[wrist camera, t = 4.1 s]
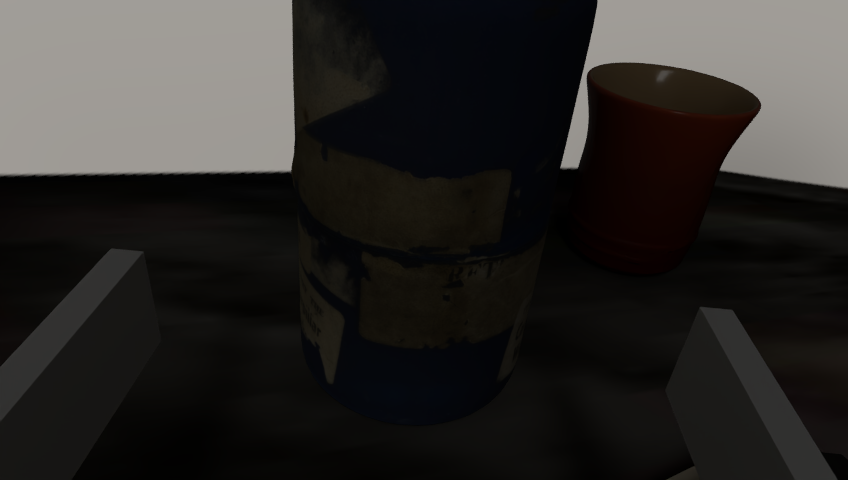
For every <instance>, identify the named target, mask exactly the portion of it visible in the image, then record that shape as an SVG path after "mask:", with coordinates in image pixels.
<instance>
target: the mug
mask: <svg viewBox="0 0 848 480" xmlns="http://www.w3.org/2000/svg"><path fill="white" fill-rule="evenodd" d="M587 90H588V105H589V124H588V133H587V138H586V143H585V147H584V150H583V154H582V157H581V160H580V163H579V167H578V170H577V174H576V178H575V182H574V186H573V190H572V195H571V197H570V199H569V203H568V210H569V211H568V215H567V223H568V227H567V234H568V237H569V240H570V241H571V243H572V244H573V246H574V247H575V248H576V249H577V250H578V251H579V252H580V253H581V254H582V255H583V256H584V257H585V258H587V259H588V260H590V261H591V262H593V263H595V264H596V265H598V266H600V267H603V268H605V269H608V270H611V271H614V272H617V273H621V274H626V275H633V276H649V275H656V274H661V273H665V272H668V271H670V270H672V269H674V268H676V267H677V266H678V265H679V264H680V263H681V262H682V260H683V258H684V256H685V255H686V253H687V252H688V250H689V248H690V246H691V245H692V243H693V242H694V241H695V239H696V238H697V236H698V230H699V227H700V225H701V222H702V219H703V217H704V214H705V211H706V209H707V206H708V203H709V200H710V197H711V194H712V191H713V187H714V184H715V181H716V178H717V175H718V173H719V170H720V168H721V165H722V163H723V161H724V159H725V157H726V156H727V154H728V152H729V151H730V149H731V148H732V146H733V145H734V143H735V142H736V140H737V139H738V138H739V137H740V135H741V134H742V133H743V131H744V130H745V129H746V127H747V126H748V125H749V124H750V123H751V121H752V120H753V118H755V116H756V115H757V114H758V112H759V111H760V109H761V103H760V101H759V99H758V98H757V97H756V96H755V95H753V94H752V93H751V92H749V91H748V90H746V89H744V88H743V87H741V86H739V85H736V84H734V83H731V82H728V81H726V80H723V79H720V78H717V77H714V76H710V75H707V74H703V73H699V72H695V71H691V70H687V69H682V68H676V67H670V66H662V65H655V64H645V63H610V64H604V65H599V66H597V67H594V68H592V69H591V70H590V71H589V72H588V74H587Z"/></svg>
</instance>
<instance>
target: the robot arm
mask: <svg viewBox="0 0 848 480" xmlns="http://www.w3.org/2000/svg"><path fill="white" fill-rule="evenodd" d="M160 342H161V337H160V332H159V327H158V322H157V317H156V312H155V307H154V302H153V297H152V292H151V287H150V282H149V277H148V272H147V267H146V262H145V257H144V252H141V251H130V250H120V249H110V250H109V251H108V252H107V254H106V255H105V256H104V257H103V258H102V259H101V260H100V261H99V262H98V263H97V264H96V265H95V266H94V267H93V269H92V270H91V271H90V272H89V273H88V274H87V275H86V276H85V277H84V278H83V279H82V280H81V281H80V282H79V283H78V285H77V286H76V287H75V288H74V289H73V290H72V291H71V292H70V293H69V294H68V295H67V296H66V297H65V298H64V299H63V301H62V302H61V303H60V304H59V305H58V306H57V307H56V308H55V309H54V310H53V311H52V312H51V313H50V314H49V315H48V317H47V318H46V319H45V320H44V321H43V322H42V323H41V324H40V325H39V326H38V327H37V328H36V329H35V330H34V331H33V333H32V334H31V335H30V336H29V337H28V338H27V339H26V340H25V341H24V342H23V343H22V344H21V345H20V346H19V347H18V349H17V350H16V351H15V352H14V353H13V354H12V355H11V356H10V357H9V358H8V359H7V360H6V361H5V362H4V364H3V365H2V366H1V367H0V480H72V478H73V477H74V475H75V474H76V472H77V470H78V469H79V467H80V466H81V464H82V463H83V461H84V460H85V458H86V456H87V455H88V453H89V452H90V450H91V449H92V447H93V446H94V444H95V443H96V441H97V439H98V438H99V436H100V435H101V433H102V432H103V430H104V429H105V427H106V425H107V424H108V422H109V421H110V419H111V418H112V416H113V415H114V413H115V412H116V410H117V408H118V407H119V405H120V404H121V402H122V401H123V399H124V398H125V396H126V394H127V393H128V391H129V390H130V388H131V387H132V385H133V384H134V382H135V381H136V379H137V377H138V376H139V374H140V373H141V371H142V370H143V368H144V367H145V365H146V363H147V362H148V360H149V359H150V357H151V356H152V354H153V353H154V351H155V349H156V348H157V346H158V345H159V343H160ZM665 392H666V394H667V397H668V399H669V402H670V404H671V407H672V409H673V412H674V415H675V417H676V420H677V422H678V425H679V427H680V430H681V432H682V435H683V437H684V440H685V443H686V445H687V448H688V450H689V453H690V455H691V458H692V460H693V463H694V465H695V468H696V471H697V473H698V476H699V478H700V480H848V460H847V459H846V458H845V457H844V456H843V455H842V454H832V453H822V452H820V451H819V449H818V447H817V446H816V444H815V442H814V441H813V439H812V438H811V436H810V434H809V433H808V431H807V430H806V428H805V426H804V425H803V423H802V421H801V420H800V418H799V417H798V415H797V413H796V412H795V410H794V409H793V407H792V405H791V404H790V402H789V400H788V399H787V397H786V396H785V394H784V392H783V391H782V389H781V388H780V386H779V384H778V383H777V381H776V380H775V378H774V376H773V375H772V373H771V371H770V370H769V368H768V367H767V365H766V363H765V362H764V360H763V359H762V357H761V355H760V354H759V352H758V350H757V349H756V347H755V346H754V344H753V342H752V341H751V339H750V338H749V336H748V334H747V333H746V331H745V329H744V328H743V326H742V325H741V323H740V321H739V320H738V318H737V317H736V315H735V313H734V312H733V310H726V309H716V308H706V307H700V308H699V310H698V313H697V315H696V318H695V320H694V322H693V325H692V327H691V330H690V332H689V334H688V337H687V339H686V342H685V344H684V346H683V349H682V351H681V354H680V356H679V358H678V361H677V363H676V366H675V368H674V370H673V373H672V375H671V378H670V380H669V382H668V385H667V387H666V390H665Z"/></svg>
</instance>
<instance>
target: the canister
mask: <svg viewBox="0 0 848 480" xmlns="http://www.w3.org/2000/svg"><path fill="white" fill-rule="evenodd" d="M596 8H597V0H292V15H293V81H294V111H295V112H294V116H295V146H294V158H293V163H292V170H291V173H292V177H293V185H294V188H295V190H296V193H297V197H298V240H299V276H300V314H301V338H302V346H303V352H304V355H305V359H306V362H307V365H308V367H309V369H310V371H311V373H312V375H313V376H314V378H315V379H316V381H317V382H318V383H319V385H320V386H321V387H322V388H323V389H324V390H325V391H326V392H327V393H328V394H329V395H331V396H332V397H333V398H334V399H336V400H337V401H338V402H340V403H341V404H343V405H344V406H346V407H347V408H349V409H351V410H353V411H355V412H357V413H359V414H362V415H364V416H367V417H370V418H373V419H376V420H380V421H384V422H388V423H394V424H401V425H432V424H438V423H444V422H448V421H452V420H455V419H459V418H462V417H465V416H467V415H469V414H471V413H473V412H475V411H477V410H479V409H480V408H482V407H484V406H485V405H486V404H488V403H489V402H490V401H491V400H492V399H494V398H495V397H496V396H497V395H498V394H499V393H500V392H501V390H502V389H503V388H504V386H505V385H506V383H507V382H508V380H509V378H510V376H511V374H512V372H513V370H514V367H515V364H516V361H517V358H518V354H519V349H520V345H521V340H522V336H523V331H524V328H525V324H526V320H527V314H528V310H529V306H530V303H531V299H532V295H533V290H534V286H535V281H536V276H537V272H538V268H539V263H540V259H541V255H542V251H543V247H544V243H545V238H546V233H547V229H548V225H549V219H550V211H551V206H552V202H553V197H554V193H555V188H556V184H557V179H558V175H559V171H560V167H561V162H562V158H563V154H564V150H565V146H566V142H567V137H568V133H569V129H570V125H571V120H572V115H573V112H574V107H575V103H576V98H577V94H578V89H579V85H580V81H581V77H582V73H583V69H584V64H585V60H586V56H587V51H588V47H589V43H590V38H591V33H592V29H593V24H594V19H595V14H596Z"/></svg>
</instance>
